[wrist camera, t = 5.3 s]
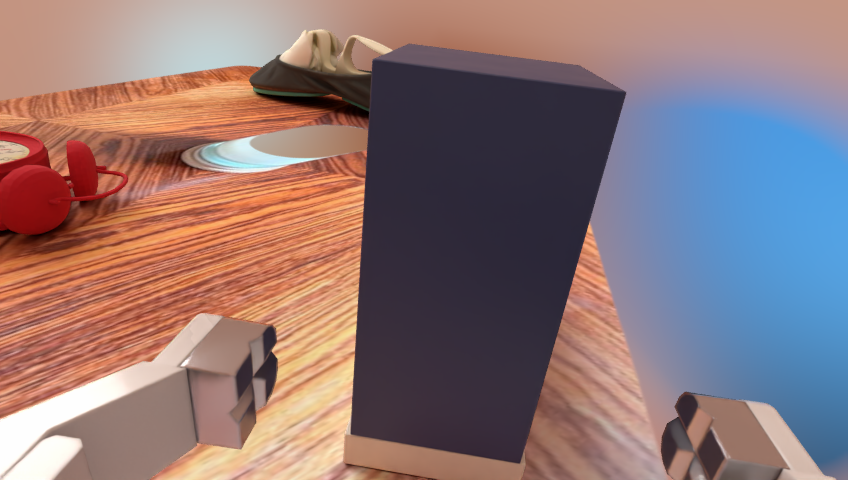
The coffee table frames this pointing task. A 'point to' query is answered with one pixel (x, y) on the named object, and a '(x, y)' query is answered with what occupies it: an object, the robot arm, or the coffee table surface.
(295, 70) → the ballet flat
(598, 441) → the coffee table surface
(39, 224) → the alarm clock
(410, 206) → the dark blue l-shaped block
